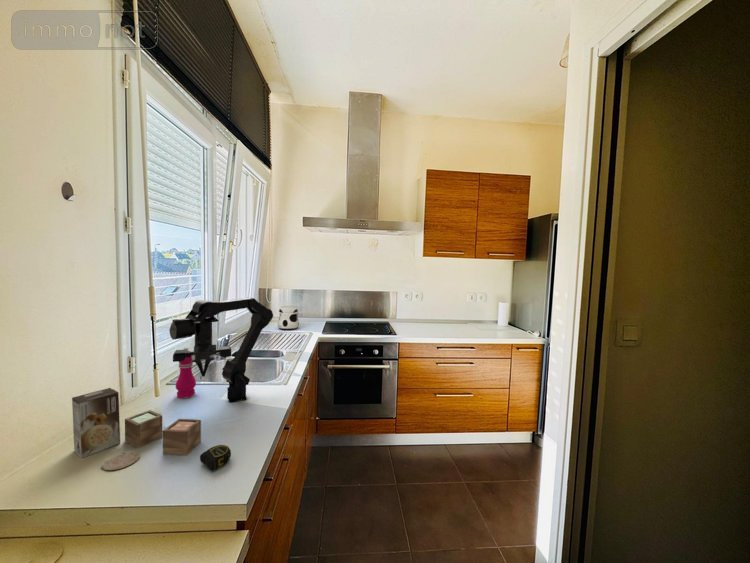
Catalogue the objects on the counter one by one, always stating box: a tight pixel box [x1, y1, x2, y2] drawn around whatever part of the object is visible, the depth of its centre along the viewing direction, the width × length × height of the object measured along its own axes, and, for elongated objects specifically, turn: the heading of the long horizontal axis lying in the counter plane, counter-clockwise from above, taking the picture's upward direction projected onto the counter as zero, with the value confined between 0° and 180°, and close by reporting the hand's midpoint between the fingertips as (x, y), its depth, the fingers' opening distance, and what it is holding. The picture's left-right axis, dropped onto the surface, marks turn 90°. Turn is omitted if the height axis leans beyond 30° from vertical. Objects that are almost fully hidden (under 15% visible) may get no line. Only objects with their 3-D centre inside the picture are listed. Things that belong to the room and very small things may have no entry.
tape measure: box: [199, 444, 232, 472], centre depth 87 cm, size 7×7×4 cm
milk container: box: [277, 305, 300, 331], centre depth 259 cm, size 17×17×18 cm
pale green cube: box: [131, 413, 156, 423], centre depth 97 cm, size 5×5×5 cm
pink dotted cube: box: [169, 421, 195, 430], centre depth 93 cm, size 5×5×5 cm
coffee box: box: [71, 387, 121, 459], centre depth 92 cm, size 9×6×16 cm
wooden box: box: [162, 418, 202, 457], centre depth 93 cm, size 7×7×7 cm
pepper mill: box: [175, 347, 197, 399], centre depth 128 cm, size 7×7×20 cm
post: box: [124, 409, 163, 449], centre depth 97 cm, size 7×7×7 cm
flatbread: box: [101, 451, 141, 471], centre depth 86 cm, size 8×8×1 cm
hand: (203, 376), depth 116 cm, fingers closed
